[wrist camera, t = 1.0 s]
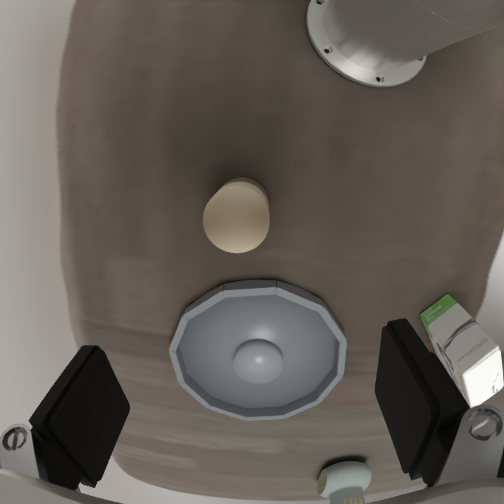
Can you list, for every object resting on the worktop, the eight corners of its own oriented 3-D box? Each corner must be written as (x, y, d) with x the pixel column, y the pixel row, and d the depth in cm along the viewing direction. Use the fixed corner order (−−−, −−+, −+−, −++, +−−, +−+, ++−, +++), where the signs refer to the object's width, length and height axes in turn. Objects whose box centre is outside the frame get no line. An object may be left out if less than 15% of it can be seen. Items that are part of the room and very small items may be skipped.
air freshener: (327, 455, 44) (334, 502, 34) (371, 451, 44) (382, 495, 34) (314, 481, 48) (317, 522, 38) (353, 478, 47) (360, 518, 38)
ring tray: (159, 284, 33) (153, 294, 31) (345, 271, 32) (350, 280, 30) (194, 408, 40) (191, 419, 38) (336, 401, 39) (338, 413, 37)
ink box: (417, 313, 33) (461, 375, 22) (448, 291, 32) (500, 345, 21) (435, 354, 36) (471, 412, 25) (463, 333, 34) (505, 387, 23)
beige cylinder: (213, 180, 29) (198, 191, 23) (266, 174, 29) (266, 185, 22) (219, 230, 31) (207, 255, 24) (270, 225, 30) (272, 250, 24)
